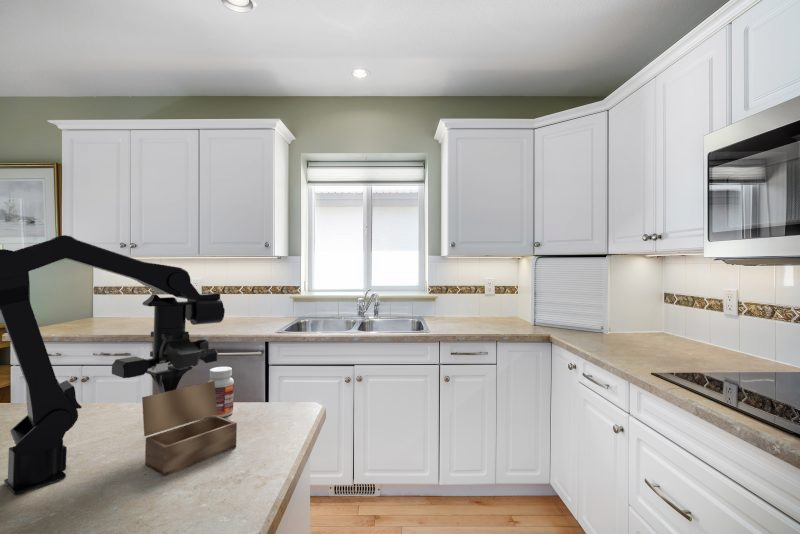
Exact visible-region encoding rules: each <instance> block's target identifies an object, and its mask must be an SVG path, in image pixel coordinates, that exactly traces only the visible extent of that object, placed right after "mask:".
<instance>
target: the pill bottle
mask: <svg viewBox="0 0 800 534" xmlns="http://www.w3.org/2000/svg"><path fill="white" fill-rule="evenodd" d="M231 376H233V369H232V367H230V366H216V367H212V368H210V369H209V378H210V379H209V380H208V381H207V382H210V381H215V395H216V408H217V414H216V415H212V416H209V417H208V418H211V417H214V416H220V417H222V418H225V417H228V416H230V415H231V414H233V412H234V396H235V395H234V390H235V388H234V387H235V385H234V384H235V380H234V378H232V377H231Z"/></svg>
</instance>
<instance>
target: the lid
mask: <svg viewBox="0 0 800 534" xmlns="http://www.w3.org/2000/svg"><path fill="white" fill-rule="evenodd" d="M141 399H142V420H143V436H144V437H149V436H152V435H156V434H159V433H162V432H165V431H168V430H172V429H175V428H178V427H181V426H184V425H188V424H191V423H194V422H197V421H201V420H204V419H207V418H210V417H209V416H212V415H216V414H217V408H216V395H215V381H210V382H208V381H206V382H203V383H198V384H194V385H190V386H185V387H182V388H176V390H172V391H168V392H163V393H160V392H159V393H156V394H152V395H147V396H142V398H141Z"/></svg>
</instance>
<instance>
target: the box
mask: <svg viewBox="0 0 800 534" xmlns="http://www.w3.org/2000/svg"><path fill="white" fill-rule="evenodd" d="M237 423H238V422H235V421H232V420H231V419H227V418H225V417H220V416H214V417H206V418H203V419H200V420H197V421H194V422H190V423H187V424H184V425H181V426H178V427H175V428H171V429H168V430H165V431H162V432H159V433H155V434H152V435H149V436H146V437H145V446H144V447H145V450H144V452H145V453H144V454H145V455H144V466H146V467H147V468H149V469H151V470H152V471H154V472H156V473H158V474H159V475H161V476H162V477H166V476H169V475H171V474H174V473H177V472H179V471H181V470H184V469H186V468H188V467H189V468H190V467H191V466H194V465H196V464H198V463H202V462H203V461H206V460H209V459H211V458H213V457H216V456H218V455H221V454H223V453H226V452H228V451H231V450H233V449H236V448H237V429H238V428H237V427H238V426H237V425H238V424H237Z"/></svg>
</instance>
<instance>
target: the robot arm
mask: <svg viewBox="0 0 800 534" xmlns="http://www.w3.org/2000/svg"><path fill="white" fill-rule="evenodd" d="M62 260H67V261H70V262H74V263H77V264H82V265H85V266H88V267H91V268H94V269H98V270H100V271H105V272H108V273H112V274H115V275H119V276H122V277H126V278H129V279H131V280H134V281H136V282H138V283H140V284H141V285H142V286H144V287H147V288H148V289H151V290H153V291H155V292H157V293H159V294H166V295H171V297H159V295H158V294H155V293H152V294H151V295H150V296H149V297H148V298H147V299H146V300H144V301H143V302H142V306H145V307H153V309H154V312H153V315H154V316H153V331H150V337H151V338H153V339H152V340H153V341H152V342H153V343H152V344H153V347H152V349H153V350H152V351H150V352H149V357H150V358H142V357H138V356H130V357H124V358H117V359H115V360H114V361H113V363H112V365H111V375H114V376H117V377H120V378H122V379H129V378H130V379H131V378H135V377H141V376H144V375H145V374H147V375H150V377H151V378H152V379H153V381H154V382H155V384H156V386H157V388H158V391H159V393H163V392H168V391H172V390H176V389H178V386H179V384H180V381H181V379H182V377H183V376H184V375H185V374H186V373H187V372H189V371H191V370H192V369H193V367H196V366H198V365H199V362H200V361H202V362H203V363H204V364H208V363H214V362H217V361H218V360H219V356H218V354H219V353H218V351H217V350H216V348H214V347H210V346H209V345H210V344H209V341H208V340H207V339H198V340H196V341H191V339H190V333H189V331H186V325H187V324H186V322H187V321H188V322H190V324H191V325H193V326H195V325H197V326H198V325H208V324H220V323H221V322H222V321H223V320H224V318H225V313H226V311H225V307H224V303H223V300H222V299H221V294H220V293H218V292H210V293H206V294H202V293H199V291H198V289H196V288H195V286H194V285H193V284H192V281H191V277H190V274H189V271H188V270H186V269H184V268H182V267H178V266H172V265H166V264H159V263H154V262H146V261H142V260H139V259H136V258H133V257H130V256H127V255H124V254H121V253H118V252H116V251H112V250H109V249H106V248H102V247H101V246H97V245H95V244H90V243H88V242H84V241H82V240H79V239H77V238H75V237H73V236H71V235H67V234H66V235H64V234H63V235H58V236H55V237H52V238H50V239H49V240H46V241H43V242H38V243H36V244H32V245H29V246H25V247H22V248H19V249H16V250H14V251H13V250H9V249H7V248H6V249H5V248H4V249H3V248H1V249H0V316H1V318H2V321H3V322H2V323H3V325H4V327H5V329H6V333H7V335H8V338H9V340H10V341H9V342H10V344H11V347H12V349H13V352H14V355H15V357H16V360H17V363H18V366H19V368H20V371H21V374H22V376H23V380H24V382H25V390H26V391H25V392H26V393H25V395H26V396H25V397H26V410H27V415H26V416H24V418H22V419H21V420H20V421H18V423H17V424H16V425H14V426H13V427H12V428H11V429H10V431H9V432H10V435H11V437H12V440H13V441H14V442H13V443H14V444H15V445H14V446H11V447H9V448H8V464H7V465H8V466H7V478H5V479H4V480H3V483H4V485H5V486H6V487H7V488H8V490H10V491H11V493H12V494H14V495H17V494H18V495H19V494H21V493H24V492H27V491H30V490H33V489H36V488H40V487H43V486H46V485H48V484H51V483H53V482H56V481H60V480H63V479H65V478H66V477H67V475H66V473H65V470H67V454H68V453H67V449H68V448H67V447H68V446H65V445H64V439H63V438H64V437H65V435H66V432H67V433H68V431H69V430H71V428H73V427H74V425H75V424H76V422H77V421H78V420H79V411H78V410H79V409H82V408H83V407H82V405H81V404H79V402H78V401H77V397H76V389H75V386H74V385H73V384H72V383H71V382H70V381H69V380H64V381H62V382H61V383H60V382H59V381H58V379H57V376H56V374H55V372H54V368H53V366H52V365H53V364H52V362H51V359H50V356H49V354H48V351H47V348H46V345H45V343H44V342H45V341H44V339H43V336H42V333H41V330H40V328H39V325H38V322H37V319H36V316H35V312H34V311H33V310H34V309H33V308H32V304H31V296H30V295H31V292H30V291H31V290H30V289H31V287H30V286H31V285H30V273H29V272H31V271H34V270H36V269H40V268H42V267H45V266H49V265H50V264H53V263H55V262H58V261H62ZM172 296H173V297H172ZM178 298H179V299H186V301H178Z"/></svg>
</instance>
